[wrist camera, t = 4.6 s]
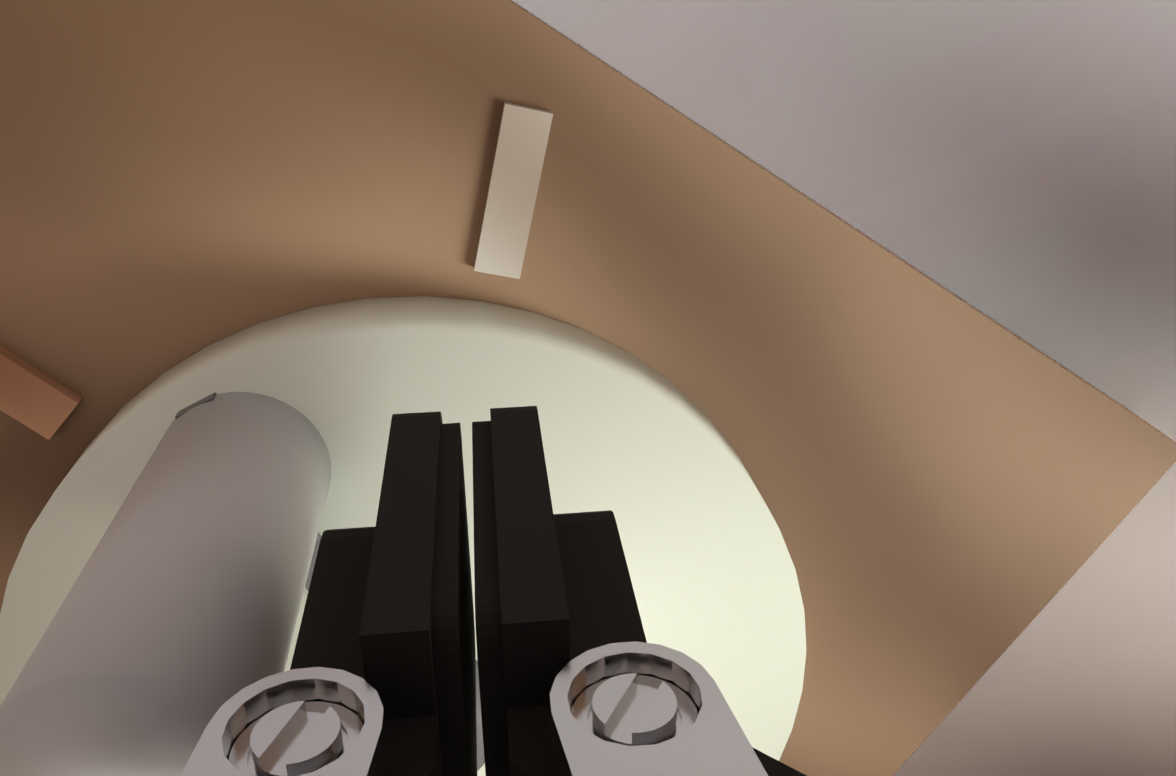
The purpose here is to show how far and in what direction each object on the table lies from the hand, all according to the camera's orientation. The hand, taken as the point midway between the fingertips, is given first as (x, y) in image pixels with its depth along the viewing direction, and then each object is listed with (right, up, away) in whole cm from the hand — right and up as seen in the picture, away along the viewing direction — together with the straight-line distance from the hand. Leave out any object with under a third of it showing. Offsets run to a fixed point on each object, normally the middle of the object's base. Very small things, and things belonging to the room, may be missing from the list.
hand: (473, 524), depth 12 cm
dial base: (-2, -2, +8) cm, 8 cm away
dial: (-2, -3, +6) cm, 7 cm away
